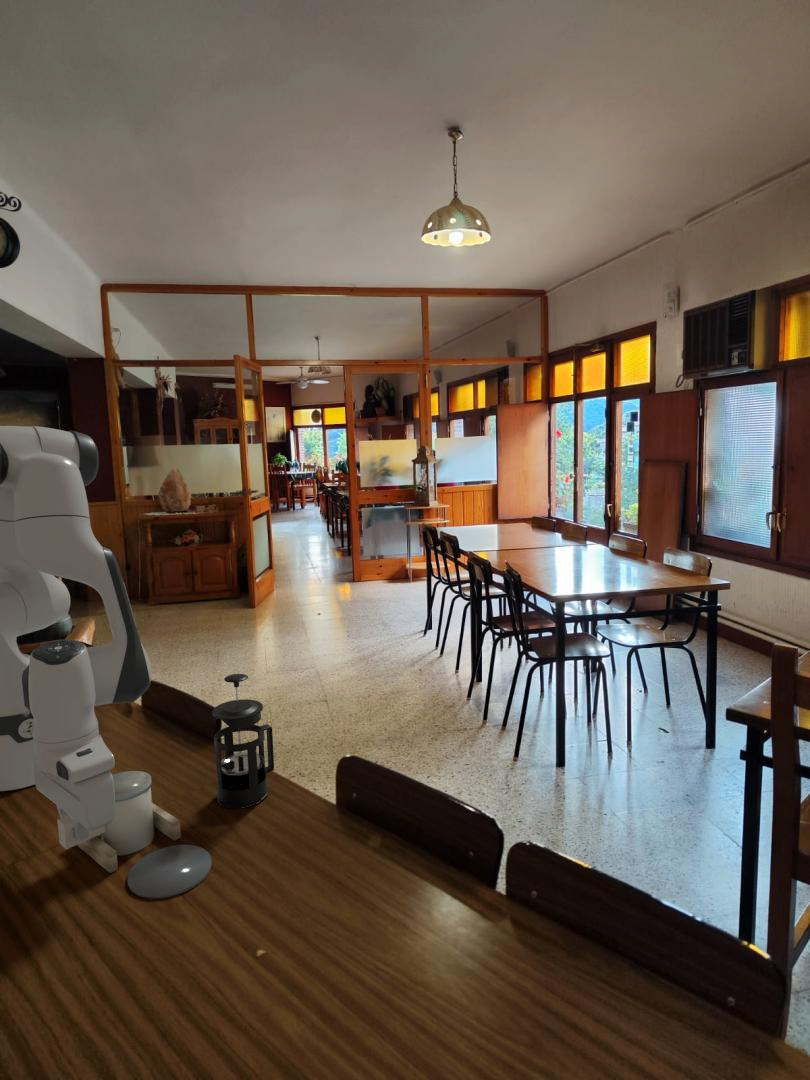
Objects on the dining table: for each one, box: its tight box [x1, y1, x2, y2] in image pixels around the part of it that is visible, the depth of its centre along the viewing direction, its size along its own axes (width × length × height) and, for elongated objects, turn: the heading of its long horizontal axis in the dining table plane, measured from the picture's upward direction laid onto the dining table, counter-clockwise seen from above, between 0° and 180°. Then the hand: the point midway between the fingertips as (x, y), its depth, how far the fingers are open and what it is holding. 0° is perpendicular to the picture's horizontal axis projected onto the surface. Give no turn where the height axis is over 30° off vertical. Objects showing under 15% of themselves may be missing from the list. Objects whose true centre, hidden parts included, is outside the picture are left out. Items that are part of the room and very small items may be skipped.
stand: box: [76, 802, 182, 874], centre depth 108 cm, size 12×12×3 cm
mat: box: [127, 844, 213, 900], centre depth 100 cm, size 12×12×1 cm
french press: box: [212, 673, 275, 809], centre depth 121 cm, size 12×9×23 cm
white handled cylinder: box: [56, 770, 155, 857], centre depth 106 cm, size 14×8×10 cm, turn 140°
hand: (76, 833), depth 102 cm, fingers closed on white handled cylinder, 2 cm apart
